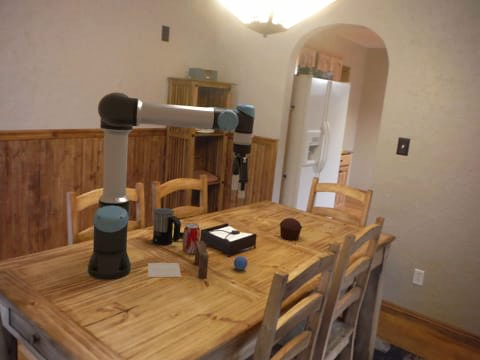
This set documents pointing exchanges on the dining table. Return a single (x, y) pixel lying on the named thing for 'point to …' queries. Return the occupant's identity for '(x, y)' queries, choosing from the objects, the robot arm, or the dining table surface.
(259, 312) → the dining table surface
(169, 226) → the milk frother
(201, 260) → the bridge
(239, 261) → the ball
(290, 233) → the muffin
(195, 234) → the soda can
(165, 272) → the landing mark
